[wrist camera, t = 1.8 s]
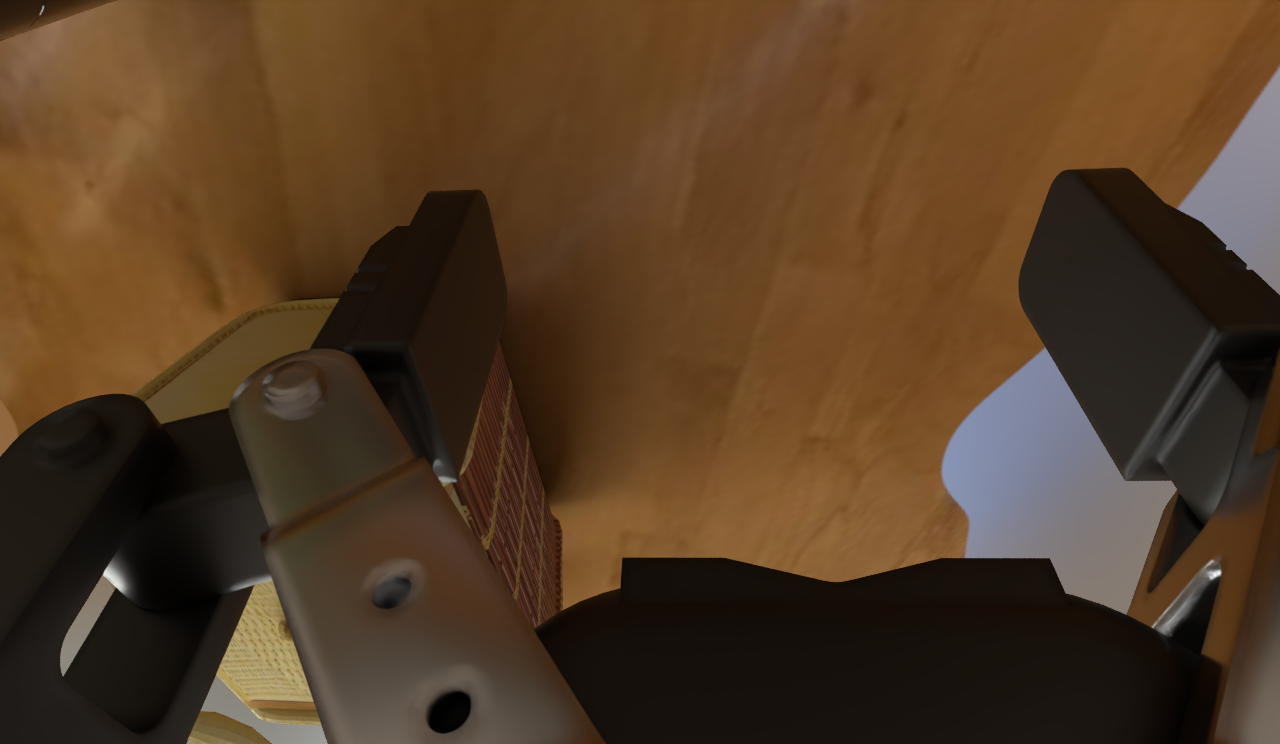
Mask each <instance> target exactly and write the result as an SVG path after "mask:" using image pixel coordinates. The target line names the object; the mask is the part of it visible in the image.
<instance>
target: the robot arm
mask: <svg viewBox="0 0 1280 744" xmlns="http://www.w3.org/2000/svg"><path fill="white" fill-rule="evenodd" d="M113 1H116V0H0V41H2V40H5V39H8V38H11V37H13V36H15V35H18V34H21V33H24V32H27V31H29V30H32V29H35V28H38V27H41V26H44V25H47V24H50V23H53V22H55V21H58V20H61V19H64V18H67V17H70V16H73V15H76V14H79V13H81V12H84V11H87V10H90V9H93V8H96V7H99V6H102V5H104V4H107V3H110V2H113ZM1246 266H1247V264H1246V263H1245V262H1244V261H1242V260H1241V259H1240V258H1239V257H1238V256H1237V255H1236V254H1235V253H1234V252H1233V251H1232V250H1226V245H1225V244H1224V243H1223V242H1222V241H1221V240H1220V239H1219V238H1218V237H1217V236H1216V235H1215V234H1214V233H1213V232H1212V231H1211V230H1209V228H1207V227H1206V226H1205V225H1204V224H1203V223H1202V222H1200V221H1198V220H1197V219H1195V218H1193V217H1191V216H1189V215H1187V214H1185V213H1183V212H1181V211H1179V210H1177V209H1175V208H1173V207H1171V206H1170V205H1168V204H1166V203H1164V202H1163V201H1162V200H1161V199H1160V198H1159V197H1158V196H1157V195H1156V194H1155V193H1154V192H1153V191H1152V190H1151V189H1150V188H1149V187H1148V186H1147V185H1146V184H1145V183H1144V182H1143V181H1142V180H1141V179H1140V178H1139V177H1138V176H1137V175H1135V174H1134V173H1133V172H1132V171H1131V170H1130V169H1127V168H1101V169H1073V170H1064V171H1062V172H1061V173H1060V174H1059V175H1058V176H1057V177H1056V178H1055V179H1054V181H1053V183H1052V184H1051V187H1050V189H1049V192H1048V194H1047V197H1046V200H1045V203H1044V205H1043V208H1042V211H1041V214H1040V217H1039V219H1038V222H1037V225H1036V228H1035V230H1034V233H1033V236H1032V239H1031V241H1030V244H1029V247H1028V250H1027V253H1026V255H1025V258H1024V261H1023V264H1022V267H1021V270H1020V275H1019V297H1020V302H1021V305H1022V308H1023V310H1024V312H1025V313H1026V315H1027V317H1028V319H1029V320H1030V322H1031V324H1032V325H1033V327H1034V329H1035V330H1036V332H1037V334H1038V335H1039V337H1040V339H1041V340H1042V342H1043V344H1044V345H1045V347H1046V349H1047V350H1048V352H1049V353H1050V355H1051V357H1052V359H1053V360H1054V362H1055V364H1056V365H1057V367H1058V369H1059V371H1060V372H1061V374H1062V375H1063V377H1064V379H1065V381H1066V382H1067V384H1068V386H1069V387H1070V389H1071V391H1072V392H1073V394H1074V396H1075V397H1076V399H1077V401H1078V402H1079V404H1080V406H1081V408H1082V409H1083V411H1084V413H1085V414H1086V416H1087V418H1088V419H1089V421H1090V423H1091V424H1092V426H1093V428H1094V429H1095V431H1096V433H1097V434H1098V436H1099V438H1100V439H1101V441H1102V443H1103V444H1104V446H1105V447H1106V449H1107V451H1108V453H1109V455H1110V456H1111V458H1112V459H1113V461H1114V463H1115V465H1116V466H1117V468H1118V470H1119V471H1120V473H1121V475H1122V476H1123V478H1124V480H1125V481H1163V480H1164V481H1170V480H1171V481H1172V482H1173V483H1174V485H1175V487H1176V488H1177V491H1176V492H1175V494H1174V495H1173V497H1172V498H1171V499H1170V501H1169V502H1168V504H1167V505H1166V507H1165V509H1164V511H1163V514H1162V517H1161V519H1160V522H1159V525H1158V528H1157V531H1156V534H1155V536H1154V539H1153V542H1152V545H1151V548H1150V551H1149V553H1148V556H1147V559H1146V562H1145V565H1144V568H1143V571H1142V573H1141V576H1140V579H1139V582H1138V585H1137V588H1136V590H1135V593H1134V596H1133V599H1132V602H1131V605H1130V607H1129V610H1128V612H1127V615H1125V614H1123V613H1121V612H1119V611H1116V610H1114V609H1111V608H1109V607H1107V606H1104V605H1101V604H1099V603H1096V602H1093V601H1089V600H1086V599H1083V598H1080V597H1077V596H1074V595H1070V594H1066V593H1065V591H1064V589H1063V587H1062V585H1061V582H1060V581H1059V578H1058V576H1057V573H1056V571H1055V569H1054V567H1053V565H1052V562H1051V560H1050V559H1049V558H1043V559H1042V558H1022V559H1021V558H1012V559H1011V558H940V559H936V560H932V561H928V562H924V563H920V564H916V565H912V566H907V567H903V568H899V569H895V570H891V571H887V572H883V573H878V574H874V575H870V576H866V577H862V578H858V579H854V580H850V581H844V582H828V581H823V580H818V579H814V578H810V577H805V576H801V575H797V574H792V573H788V572H784V571H779V570H775V569H770V568H766V567H762V566H757V565H753V564H749V563H744V562H740V561H736V560H731V559H727V558H623V559H622V574H621V588H620V589H616V590H613V591H609V592H605V593H602V594H599V595H596V596H594V597H591V598H588V599H586V600H583V601H580V602H578V603H576V604H574V605H572V606H571V607H569V608H567V609H565V610H563V611H561V612H559V613H557V614H555V615H554V616H552V617H551V618H549V619H548V620H546V621H545V622H543V623H542V624H540V625H539V626H537V627H536V628H534V629H533V628H532V627H531V625H530V623H529V622H528V620H527V619H526V617H525V615H524V614H523V612H522V611H521V609H520V607H519V606H518V604H517V603H516V601H515V600H514V598H513V596H512V595H511V593H510V592H509V590H508V588H507V587H506V585H505V584H504V582H503V580H502V579H501V577H500V576H499V574H498V572H497V571H496V569H495V568H494V566H493V565H492V563H491V561H490V560H489V558H488V557H487V555H486V553H485V552H484V550H483V549H482V547H481V545H480V544H479V542H478V541H477V539H476V537H475V536H474V534H473V533H472V531H471V529H470V528H469V526H468V525H467V523H466V522H465V520H464V518H463V517H462V515H461V514H460V512H459V510H458V509H457V507H456V506H455V504H454V502H453V501H452V499H451V498H450V496H449V494H448V493H447V491H446V490H445V488H444V487H443V485H442V483H441V482H458V479H459V476H460V472H461V469H462V465H463V462H464V459H465V455H466V452H467V448H468V445H469V442H470V438H471V435H472V432H473V428H474V425H475V421H476V418H477V415H478V411H479V408H480V404H481V401H482V398H483V394H484V391H485V388H486V384H487V381H488V377H489V374H490V371H491V367H492V364H493V360H494V357H495V354H496V350H497V347H498V343H499V340H500V337H501V333H502V330H503V327H504V323H505V319H506V314H507V287H506V280H505V275H504V271H503V266H502V262H501V258H500V253H499V249H498V245H497V240H496V236H495V231H494V227H493V223H492V218H491V214H490V209H489V205H488V202H487V199H486V197H485V195H484V193H483V192H482V191H481V190H453V191H430V192H428V193H427V194H426V196H425V198H424V200H423V201H422V203H421V205H420V207H419V209H418V210H417V212H416V214H415V216H414V218H413V220H412V221H411V223H410V225H409V226H396V227H395V228H394V229H392V230H391V231H390V232H388V233H387V234H386V235H385V236H383V237H382V238H381V239H379V240H378V241H377V242H376V243H374V244H373V245H372V246H371V247H370V248H369V250H368V252H367V253H366V255H365V257H364V258H363V260H362V262H361V263H360V265H359V267H358V273H355V274H354V275H353V277H352V279H351V280H350V282H349V284H348V285H347V291H344V292H343V294H342V295H341V297H340V299H339V300H338V302H337V304H336V305H335V307H334V309H333V310H332V312H331V314H330V315H329V317H328V319H327V320H326V322H325V324H324V325H323V327H322V329H321V330H320V332H319V334H318V335H317V337H316V339H315V340H314V342H313V344H312V345H311V347H310V349H309V350H303V351H299V352H295V353H291V354H288V355H285V356H283V357H280V358H278V359H276V360H273V361H271V362H269V363H268V364H266V365H264V366H262V367H261V368H259V369H258V370H256V371H255V372H254V373H252V374H251V375H250V376H249V377H248V378H247V379H245V380H244V381H243V382H242V384H241V385H240V386H239V387H238V388H237V390H236V391H235V393H234V395H233V396H232V399H231V402H230V405H229V408H225V409H221V410H217V411H213V412H209V413H205V414H200V415H196V416H192V417H188V418H184V419H180V420H176V421H171V422H167V423H163V424H161V423H160V422H159V421H158V419H157V418H156V417H155V415H154V414H153V413H152V411H151V410H150V409H149V407H148V406H147V405H146V403H145V402H144V401H142V400H141V399H140V398H137V397H135V396H132V395H126V394H108V395H100V396H96V397H91V398H87V399H84V400H81V401H78V402H75V403H72V404H70V405H67V406H65V407H63V408H61V409H59V410H57V411H55V412H53V413H51V414H49V415H47V416H46V417H44V418H42V419H41V420H39V421H38V422H36V423H35V424H33V425H32V426H31V427H29V428H28V429H27V430H26V431H24V432H23V433H22V434H21V435H20V436H19V437H18V438H17V439H16V440H15V441H14V442H13V443H12V444H11V445H10V446H9V448H8V449H7V450H6V451H5V452H4V453H3V454H2V456H1V457H0V744H186V743H187V741H188V738H189V736H190V734H191V731H192V729H193V727H194V725H195V722H196V720H197V718H198V715H199V713H200V711H201V708H202V706H203V703H204V701H205V699H206V697H207V694H208V692H209V689H210V687H211V685H212V683H213V680H214V678H215V676H216V674H217V671H218V669H219V667H220V664H221V662H222V660H223V657H224V655H225V653H226V650H227V648H228V646H229V643H230V641H231V639H232V637H233V634H234V632H235V630H236V627H237V625H238V623H239V620H240V618H241V616H242V613H243V611H244V609H245V606H246V604H247V602H248V599H249V597H250V595H251V593H252V590H253V588H254V586H255V585H256V584H259V583H263V582H266V581H270V580H273V583H274V586H275V589H276V592H277V595H278V598H279V601H280V604H281V607H282V610H283V613H284V616H285V619H286V622H287V625H288V628H289V631H290V633H291V636H292V639H293V642H294V645H295V648H296V651H297V654H298V657H299V660H300V663H301V666H302V669H303V672H304V675H305V678H306V681H307V684H308V687H309V690H310V693H311V695H312V698H313V701H314V704H315V707H316V710H317V713H318V716H319V719H320V722H321V725H322V728H323V731H324V734H325V737H326V739H327V743H328V744H1280V295H1279V294H1278V293H1276V291H1275V290H1273V289H1272V288H1271V287H1270V286H1269V285H1268V284H1267V283H1266V282H1265V281H1264V280H1263V279H1262V278H1261V277H1260V276H1259V275H1258V274H1256V273H1255V272H1254V271H1253V270H1247V269H1246ZM102 575H104V576H105V577H106V578H107V579H108V580H109V581H110V582H111V583H112V584H113V585H114V586H115V587H116V589H115V590H114V592H113V594H112V596H111V597H110V599H109V601H108V602H107V604H106V606H105V607H104V609H103V611H102V612H101V614H100V616H99V617H98V619H97V621H96V623H95V624H94V626H93V628H92V629H91V631H90V633H89V635H88V636H87V638H86V640H85V641H84V643H83V644H82V646H81V648H80V649H79V651H78V653H77V655H76V656H75V658H74V660H73V662H72V663H71V665H70V667H69V668H68V670H67V671H66V673H65V675H64V676H62V673H61V669H60V653H61V648H62V644H63V641H64V638H65V636H66V633H67V632H68V630H69V628H70V626H71V625H72V623H73V622H74V620H75V618H76V617H77V615H78V613H79V612H80V610H81V609H82V607H83V605H84V604H85V602H86V601H87V599H88V597H89V596H90V594H91V592H92V591H93V589H94V587H95V586H96V584H97V583H98V581H99V579H100V578H101V576H102Z"/></svg>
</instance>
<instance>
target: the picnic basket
mask: <svg viewBox="0 0 1280 744" xmlns="http://www.w3.org/2000/svg"><path fill="white" fill-rule="evenodd" d="M339 299H340V298H330V299H311V300H296V301H288V302H280V303H276V304H272V305H268V306H264V307H260V308H258V309H255V310H252V311H250V312H247V313H245V314H242V315H240V316H238V317H237V318H235V319H233V320H231V321H230V322H228V323H227V324H225V325H224V326H223V327H221V328H220V329H219V330H217V331H216V332H214V333H213V334H212V335H210V336H209V337H208V338H206V339H205V340H204V341H202V342H201V343H200V344H198V345H197V346H196V347H194V348H193V349H192V350H190V351H189V352H188V353H186V354H185V355H184V356H182V357H181V358H179V359H178V360H177V361H175V362H174V363H173V364H171V365H170V366H169V367H167V368H166V369H165V370H163V371H162V372H161V373H159V374H158V375H157V376H155V377H154V378H153V379H151V380H150V381H149V382H147V383H146V384H145V385H143V386H142V387H140V388H139V389H138V390H136V391H135V392H134V393H132V394H131V395H132V396H135V397H137V398H140V399H141V400H142V401H144V402H145V403H146V405H147V406H148V407H149V409H150V410H151V411H152V413H153V414H154V415H155V417H156V418H157V419H158V421H159V422H160V423H161V424H163V423H167V422H171V421H176V420H180V419H184V418H188V417H192V416H196V415H200V414H205V413H209V412H213V411H217V410H221V409H225V408H229V405H230V402H231V399H232V396H233V395H234V393H235V391H236V390H237V388H238V387H239V386H240V385H241V384H242V382H243V381H244V380H245V379H247V378H248V377H249V376H250V375H251V374H252V373H254V372H255V371H256V370H258V369H259V368H261V367H262V366H264V365H266V364H268V363H269V362H271V361H273V360H276V359H278V358H280V357H283V356H285V355H288V354H291V353H295V352H299V351H303V350H309V349H310V347H311V345H312V344H313V342H314V340H315V339H316V337H317V335H318V334H319V332H320V330H321V329H322V327H323V325H324V324H325V322H326V320H327V319H328V317H329V315H330V314H331V312H332V310H333V309H334V307H335V305H336V304H337V302H338V300H339ZM441 483H442V485H443V487H444V488H445V490H446V491H447V493H448V494H449V496H450V498H451V499H452V501H453V502H454V504H455V506H456V507H457V509H458V510H459V512H460V514H461V515H462V517H463V518H464V520H465V522H466V523H467V525H468V526H469V528H470V529H471V531H472V533H473V534H474V536H475V537H476V539H477V541H478V542H479V544H480V545H481V547H482V549H483V550H484V552H485V553H486V555H487V557H488V558H489V560H490V561H491V563H492V565H493V566H494V568H495V569H496V571H497V572H498V574H499V576H500V577H501V579H502V580H503V582H504V584H505V585H506V587H507V588H508V590H509V592H510V593H511V595H512V596H513V598H514V600H515V601H516V603H517V604H518V606H519V607H520V609H521V611H522V612H523V614H524V615H525V617H526V619H527V620H528V622H529V623H530V625H531V627H532V628H533V629H534V628H536V627H537V626H539V625H540V624H542V623H543V622H545V621H546V620H548V619H549V618H551V617H552V616H554V615H555V614H557V613H559V612H561V611H563V579H562V529H561V526H560V522H559V521H558V520H557V519H556V518H555V517H554V516H553V515H552V514H551V511H550V507H549V504H548V501H547V497H546V494H545V491H544V487H543V484H542V481H541V478H540V474H539V471H538V468H537V464H536V461H535V458H534V454H533V451H532V448H531V444H530V441H529V438H528V435H527V431H526V428H525V425H524V421H523V418H522V415H521V411H520V408H519V405H518V401H517V398H516V395H515V392H514V388H513V385H512V382H511V378H510V375H509V372H508V368H507V365H506V362H505V359H504V355H503V352H502V349H501V345H500V342H499V343H498V347H497V350H496V354H495V357H494V360H493V364H492V367H491V371H490V374H489V377H488V381H487V384H486V388H485V391H484V394H483V398H482V401H481V404H480V408H479V411H478V415H477V418H476V421H475V425H474V428H473V432H472V435H471V438H470V442H469V445H468V448H467V452H466V455H465V459H464V462H463V465H462V469H461V472H460V476H459V479H458V482H441ZM216 675H217V676H218V677H219V678H220V679H221V680H222V681H223V682H224V683H225V684H226V685H227V686H228V687H229V688H230V689H231V690H232V692H234V693H235V695H236V696H237V697H238V698H239V699H240V700H241V701H242V702H243V703H244V704H245V705H246V706H247V707H248V708H250V709H251V711H252V712H253V713H254V714H255V715H256V716H257V717H259V719H261V720H265V721H269V722H273V723H279V724H302V725H321V722H320V719H319V716H318V713H317V710H316V707H315V704H314V701H313V698H312V695H311V693H310V690H309V687H308V684H307V681H306V678H305V675H304V672H303V669H302V666H301V663H300V660H299V657H298V654H297V651H296V648H295V645H294V642H293V639H292V636H291V633H290V631H289V628H288V625H287V622H286V619H285V616H284V613H283V610H282V607H281V604H280V601H279V598H278V595H277V592H276V589H275V586H274V583H273V580H270V581H266V582H263V583H259V584H256V585H255V586H254V588H253V590H252V593H251V595H250V597H249V599H248V602H247V604H246V606H245V609H244V611H243V613H242V616H241V618H240V620H239V623H238V625H237V627H236V630H235V632H234V634H233V637H232V639H231V641H230V643H229V646H228V648H227V650H226V653H225V655H224V657H223V660H222V662H221V664H220V667H219V669H218V671H217V674H216ZM188 741H190V742H192V743H195V744H271V743H270V742H269V741H268V740H266V739H265V738H264V737H263V736H262V735H261V734H259V733H258V732H257V731H256V730H255V729H253V728H252V727H250V726H248V725H245V724H243V723H241V722H238V721H236V720H234V719H232V718H229V717H227V716H225V715H222V714H219V713H216V712H204V711H200V713H199V715H198V718H197V720H196V722H195V725H194V727H193V729H192V731H191V734H190V736H189V738H188Z"/></svg>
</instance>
